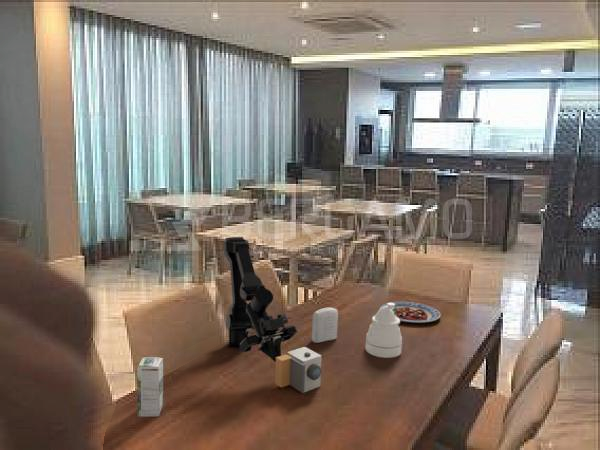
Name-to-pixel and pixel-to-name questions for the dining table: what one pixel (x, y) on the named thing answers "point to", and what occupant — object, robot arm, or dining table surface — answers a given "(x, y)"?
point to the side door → (289, 372)
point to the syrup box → (150, 387)
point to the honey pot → (384, 334)
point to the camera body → (309, 366)
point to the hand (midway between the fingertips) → (279, 363)
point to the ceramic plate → (414, 312)
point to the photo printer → (324, 325)
